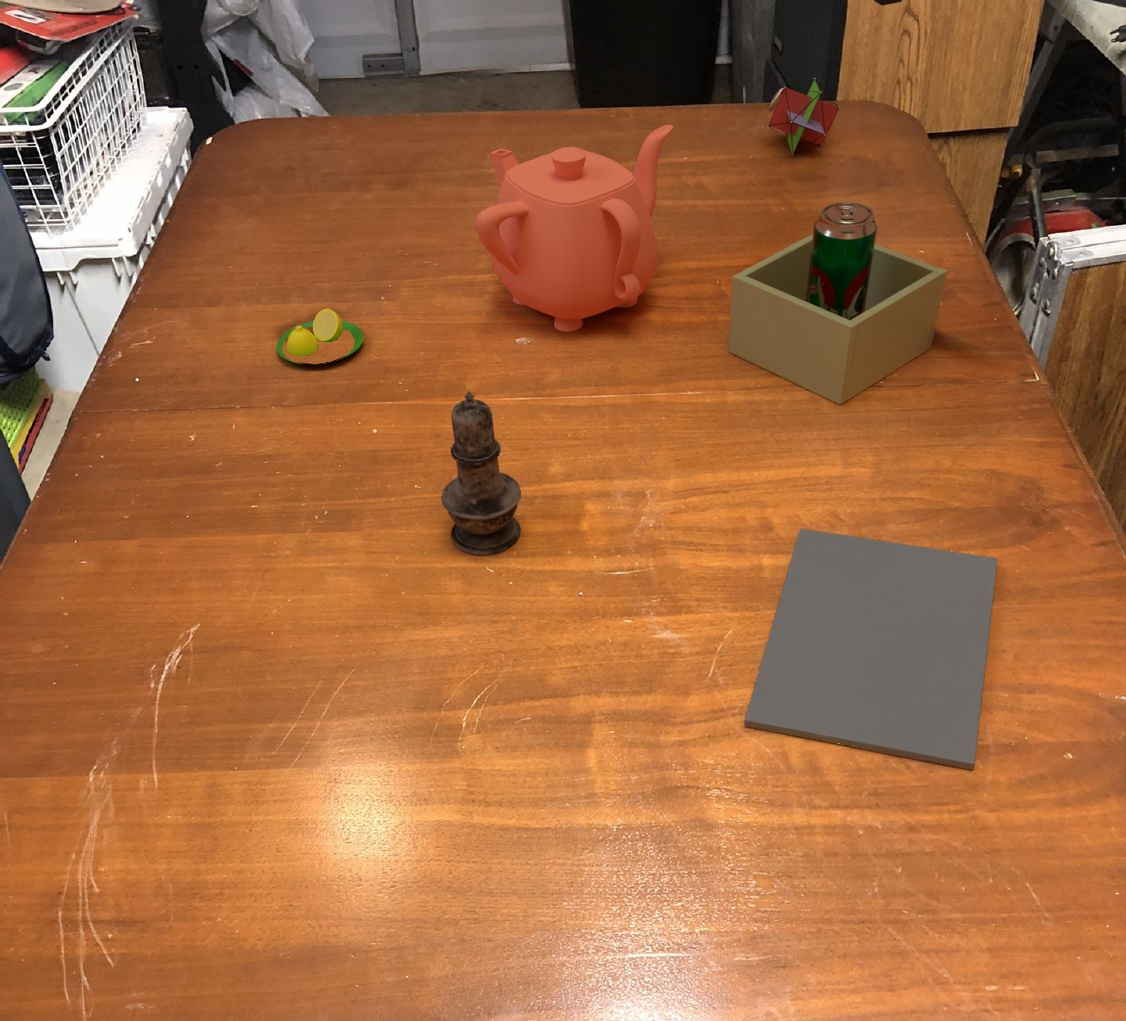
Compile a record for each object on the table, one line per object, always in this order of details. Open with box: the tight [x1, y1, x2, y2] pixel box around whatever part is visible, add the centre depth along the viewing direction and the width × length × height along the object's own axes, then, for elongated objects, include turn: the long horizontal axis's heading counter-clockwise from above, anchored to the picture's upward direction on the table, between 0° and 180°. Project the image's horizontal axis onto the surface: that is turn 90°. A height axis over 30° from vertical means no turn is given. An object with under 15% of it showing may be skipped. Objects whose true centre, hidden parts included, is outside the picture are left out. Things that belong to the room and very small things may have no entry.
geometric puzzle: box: [767, 77, 841, 156], centre depth 130 cm, size 7×7×8 cm
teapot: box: [475, 124, 674, 333], centre depth 107 cm, size 16×17×14 cm
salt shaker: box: [440, 390, 522, 556], centre depth 84 cm, size 6×6×12 cm
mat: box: [743, 528, 999, 771], centre depth 79 cm, size 20×14×1 cm
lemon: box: [276, 308, 365, 366], centre depth 107 cm, size 8×8×3 cm
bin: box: [727, 233, 948, 406], centre depth 101 cm, size 13×13×7 cm
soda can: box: [805, 201, 878, 321], centre depth 99 cm, size 5×5×12 cm
